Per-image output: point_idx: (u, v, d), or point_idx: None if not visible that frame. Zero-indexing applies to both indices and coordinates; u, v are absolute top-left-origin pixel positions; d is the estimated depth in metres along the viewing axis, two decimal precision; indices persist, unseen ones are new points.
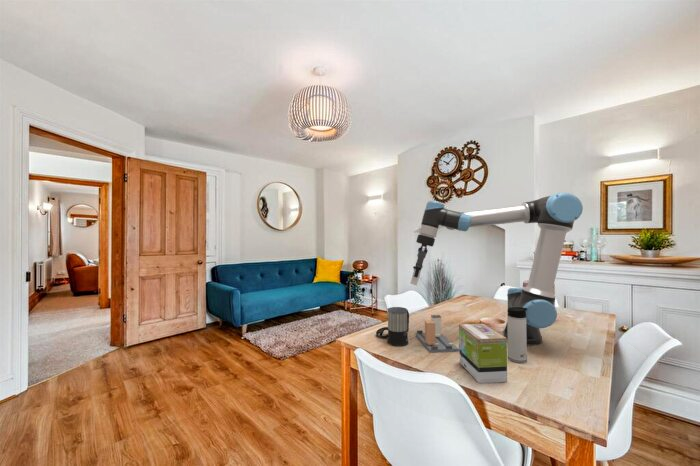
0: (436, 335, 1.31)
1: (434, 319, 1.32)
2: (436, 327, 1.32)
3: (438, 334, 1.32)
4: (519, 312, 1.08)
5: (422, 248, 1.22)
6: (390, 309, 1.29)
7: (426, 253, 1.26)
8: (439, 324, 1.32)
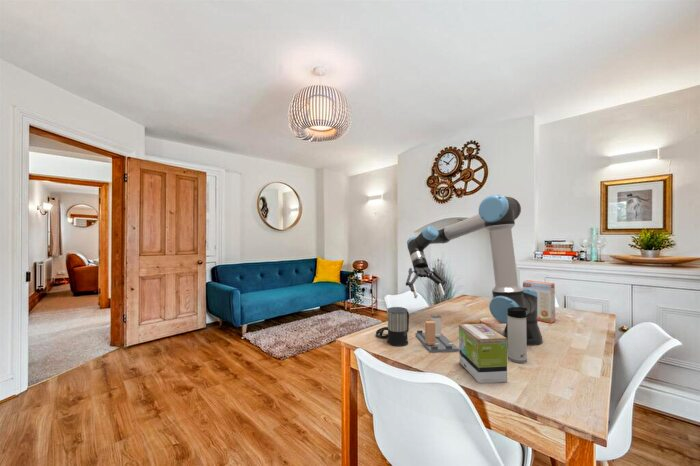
0: (436, 335, 1.31)
1: (434, 319, 1.32)
2: (436, 327, 1.32)
3: (438, 334, 1.32)
4: (519, 312, 1.08)
5: (408, 271, 1.51)
6: (390, 309, 1.29)
7: (420, 271, 1.48)
8: (439, 324, 1.32)
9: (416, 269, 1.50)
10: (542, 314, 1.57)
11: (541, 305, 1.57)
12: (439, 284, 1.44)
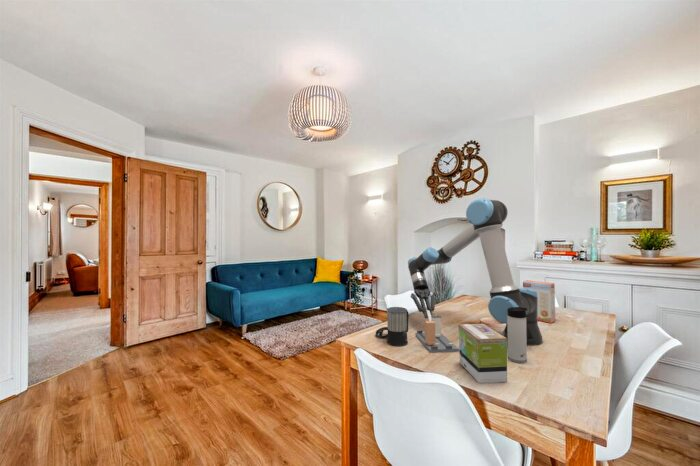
0: (436, 335, 1.31)
1: (434, 319, 1.32)
2: (436, 327, 1.32)
3: (438, 334, 1.32)
4: (519, 312, 1.08)
5: (411, 296, 1.50)
6: (389, 309, 1.30)
7: (421, 293, 1.50)
8: (439, 324, 1.32)
9: (416, 291, 1.51)
10: (542, 314, 1.57)
11: (541, 305, 1.57)
12: None
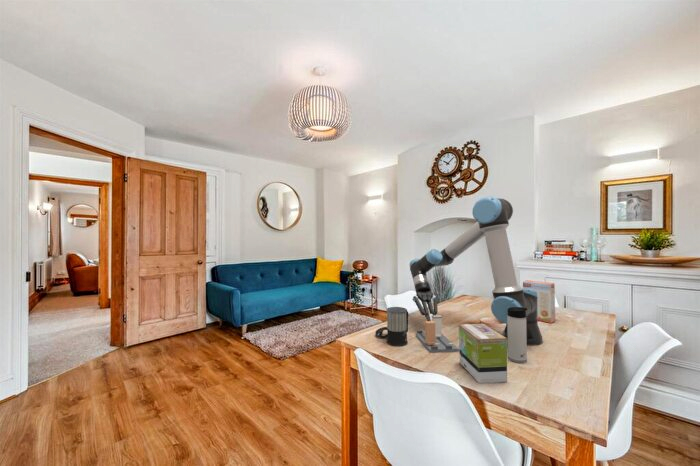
0: (437, 336, 1.31)
1: (435, 319, 1.31)
2: (436, 328, 1.31)
3: (439, 335, 1.31)
4: (519, 312, 1.08)
5: (413, 299, 1.45)
6: (389, 309, 1.30)
7: (424, 296, 1.45)
8: (440, 325, 1.31)
9: (419, 294, 1.46)
10: (542, 314, 1.57)
11: (541, 305, 1.57)
12: None
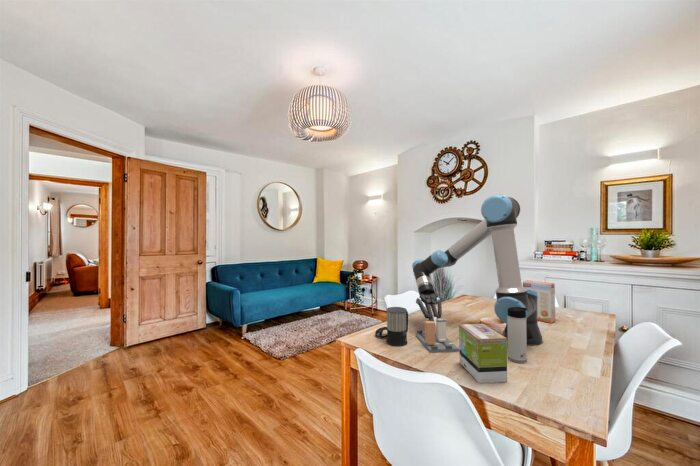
0: (441, 340, 1.26)
1: (439, 323, 1.26)
2: (441, 332, 1.26)
3: (443, 339, 1.26)
4: (519, 312, 1.08)
5: (416, 302, 1.40)
6: (389, 309, 1.30)
7: (427, 298, 1.39)
8: (444, 328, 1.26)
9: (422, 296, 1.41)
10: (542, 314, 1.57)
11: (541, 305, 1.57)
12: None
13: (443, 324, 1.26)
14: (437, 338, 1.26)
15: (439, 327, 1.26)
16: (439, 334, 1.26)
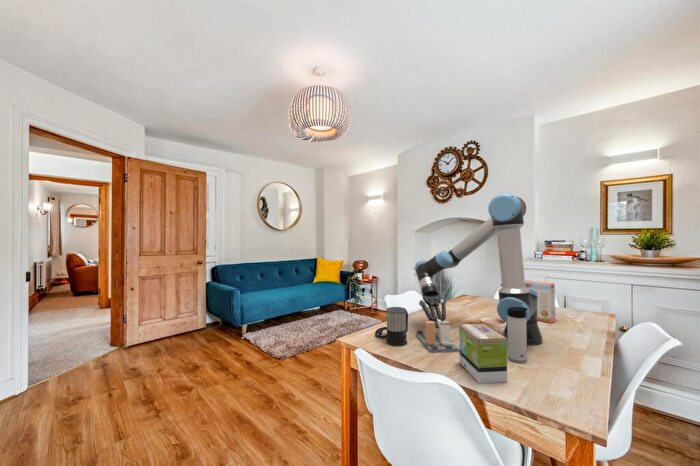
0: (445, 343, 1.22)
1: (443, 326, 1.22)
2: (445, 335, 1.22)
3: (447, 342, 1.22)
4: (519, 312, 1.08)
5: (420, 304, 1.36)
6: (389, 309, 1.30)
7: (431, 300, 1.36)
8: (448, 331, 1.22)
9: (425, 298, 1.37)
10: (542, 314, 1.57)
11: (541, 305, 1.57)
12: (439, 320, 1.29)
13: (447, 327, 1.22)
14: (440, 341, 1.23)
15: (442, 330, 1.22)
16: (442, 337, 1.22)
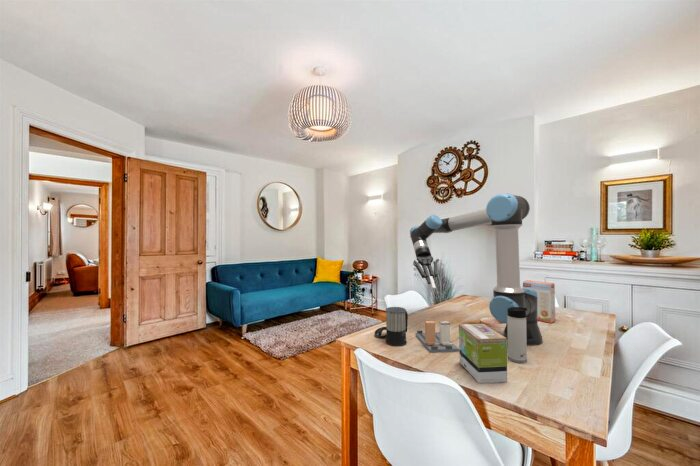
0: (445, 343, 1.22)
1: (443, 326, 1.22)
2: (445, 335, 1.22)
3: (447, 342, 1.22)
4: (519, 312, 1.08)
5: (414, 264, 1.48)
6: (388, 309, 1.30)
7: (424, 260, 1.47)
8: (448, 331, 1.22)
9: (419, 258, 1.49)
10: (542, 314, 1.57)
11: (541, 305, 1.57)
12: None
13: (447, 327, 1.22)
14: (440, 341, 1.23)
15: (443, 330, 1.22)
16: (443, 337, 1.22)
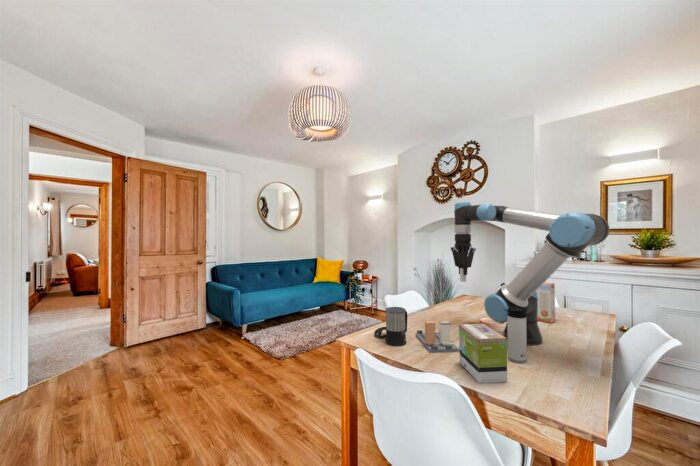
0: (445, 343, 1.22)
1: (443, 326, 1.22)
2: (445, 335, 1.22)
3: (447, 342, 1.22)
4: (519, 312, 1.08)
5: None
6: (388, 309, 1.30)
7: (458, 248, 1.44)
8: (448, 331, 1.22)
9: (456, 245, 1.46)
10: (542, 314, 1.57)
11: (541, 305, 1.57)
12: (461, 269, 1.43)
13: (447, 327, 1.22)
14: (440, 341, 1.23)
15: (443, 330, 1.22)
16: (443, 337, 1.22)
